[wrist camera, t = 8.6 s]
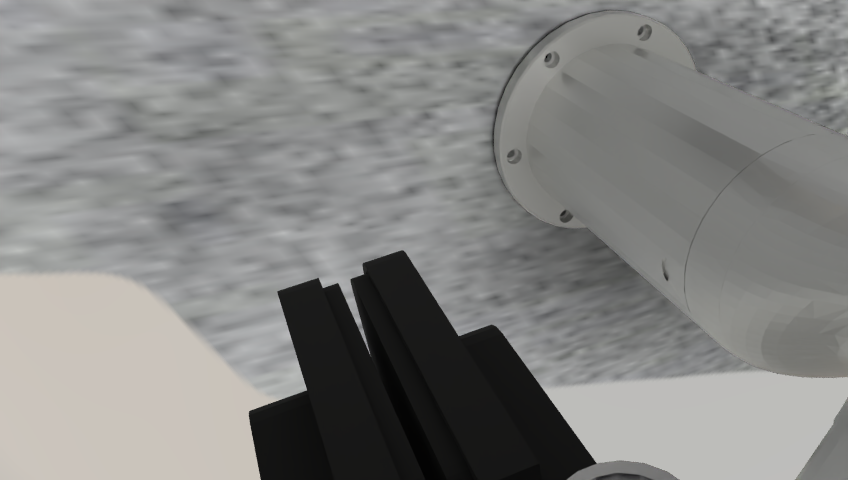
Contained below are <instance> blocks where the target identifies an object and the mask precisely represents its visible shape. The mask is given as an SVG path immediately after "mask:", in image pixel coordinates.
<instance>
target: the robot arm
mask: <svg viewBox="0 0 848 480" xmlns="http://www.w3.org/2000/svg"><path fill="white" fill-rule="evenodd" d="M547 54H548V57H547V58H546V59H545V57H546V55H547ZM510 151H511V152H510ZM494 152H495V158H496V163H497V168H498V171H499V173H500V176H501V178H502V180H503V183H504V185H505V187H506V188H507V189H508V191H509V192H510V194H511V195H512V196H513V198H514V199H515V200H516V201H517V202H518V203H519V204H520V205H521V206H522V207H523V208H524V209H525V210H526V211H527V212H529V213H530V214H532V215H533V216H535V217H536V218H538V219H539V220H541V221H543V222H546V223H549V224H551V225H554V226H557V227H564V228H571V229H579V228H588V229H589V230H590V231H592V232H593V233H594V234H595V235H596V236H597V237H598V238H600V239H601V240H602V241H603V242H604V243H605V244H606V245H607V246H609V247H610V248H611V249H612V250H613V251H614V252H615V253H616V254H618V255H619V256H620V257H621V258H622V259H623V260H624V261H626V262H627V263H628V264H629V265H630V266H631V267H632V268H633V269H635V270H636V271H637V272H638V273H639V274H640V275H641V276H642V277H644V278H645V279H646V280H647V281H648V282H649V283H650V284H652V285H653V286H654V287H655V288H656V289H657V290H658V291H659V292H661V293H662V294H663V295H664V296H665V297H666V298H667V299H668V300H670V301H671V302H672V303H673V304H674V305H675V306H676V307H678V308H679V309H680V310H681V311H682V312H683V313H684V314H685V315H687V316H688V317H689V318H690V319H691V320H692V321H693V322H694V323H696V324H697V325H698V326H699V327H700V328H701V329H702V330H703V331H704V332H706V333H707V334H708V335H709V336H710V337H711V338H712V339H714V340H715V341H716V342H717V343H718V344H719V345H720V346H722V347H723V348H724V349H725V350H727V351H728V352H730V353H731V354H732V355H734V356H735V357H737V358H739V359H741V360H743V361H744V362H746V363H748V364H750V365H753V366H755V367H758V368H761V369H764V370H767V371H770V372H773V373H777V374H784V375H790V376H798V377H816V378H817V377H819V378H821V377H822V378H835V377H848V136H845V135H843V134H841V133H838V132H836V131H834V130H831V129H829V128H827V127H824V126H822V125H820V124H818V123H815V122H813V121H811V120H808V119H806V118H804V117H802V116H799V115H797V114H795V113H792V112H790V111H788V110H785V109H783V108H781V107H778V106H776V105H774V104H771V103H769V102H767V101H765V100H762V99H760V98H758V97H755V96H753V95H751V94H748V93H746V92H744V91H741V90H739V89H737V88H735V87H732V86H730V85H728V84H725V83H723V82H721V81H718V80H716V79H714V78H711V77H709V76H707V75H704V74H702V73H700V72H698V71H697V70H696V66H695V63H694V61H693V59H692V57H691V55H690V52H689V50H688V48H687V47H686V46H685V44H684V43H683V42H682V41H681V39H680V38H679V37H678V36H677V34H675V33H674V32H673V31H672V30H670V29H669V28H668V27H666V26H665V25H664V24H662V23H660V22H658V21H656V20H653V19H651V18H649V17H646V16H643V15H640V14H636V13H633V12H629V11H611V10H608V11H603V12H597V13H591V14H587V15H585V16H582V17H580V18H577V19H574V20H572V21H569V22H567V23H566V24H564V25H563V26H561V27H559V28H558V29H556V30H555V31H553V32H551V33H550V34H549V35H547V36H546V37H545V38H544V39H543V40H542V41H541V42H540V43H538V44H537V45H536V46H535V47H534V48H533V49H532V50H531V51H530V52H529V54H528V55H527V56H526V57H525V58H524V60H523V61H522V62H521V63H520V65H519V66H518V67H517V69H516V71H515V72H514V74H513V76H512V78H511V79H510V81H509V83H508V85H507V86H506V89H505V91H504V94H503V97H502V99H501V102H500V105H499V107H498V112H497V117H496V122H495V128H494ZM509 152H510V154H508V153H509ZM363 271H364V275H361V276H358V277H355V278H352V279H351V285H352V289H353V293H354V296H355V300H356V304H357V307H358V311H359V315H360V318H361V322H362V325H363V329H364V333H365V336H366V340H367V344H368V347H369V351H370V354H371V356H370V354H369V351H368V349H367V347H366V345H365V342H364V340H363V338H362V336H361V333H360V331H359V329H358V327H357V324H356V322H355V320H354V318H353V315H352V313H351V311H350V309H349V306H348V304H347V302H346V300H345V297H344V295H343V293H342V291H341V288H340V286H339V284H338V283H337V284H334V285H331V286H328V287H325V288H322V285H321V283H320V280H319V278H317V279H313V280H310V281H307V282H304V283H301V284H298V285H295V286H292V287H289V288H286V289H283V290H280V291H277V292H278V296H279V299H280V302H281V306H282V309H283V312H284V315H285V319H286V322H287V325H288V329H289V332H290V335H291V338H292V342H293V345H294V348H295V352H296V355H297V358H298V361H299V365H300V368H301V371H302V375H303V378H304V381H305V384H306V388H307V391H304V392H301V393H299V394H296V395H293V396H290V397H287V398H285V399H282V400H279V401H276V402H273V403H271V404H268V405H265V406H262V407H259V408H257V409H254V410H251V411H249V419H250V425H251V431H252V436H253V441H254V446H255V452H256V457H257V462H258V467H259V472H260V477H261V480H679V479H677V478H676V477H674V476H673V475H672V474H670V473H669V472H667V471H664V470H662V469H659V468H656V467H653V466H651V465H648V464H645V463H638V462H629V461H614V462H605V463H598V464H597V463H596V462H595V461H594V459H593V458H592V456H591V455H590V454H589V452H588V451H587V450H586V449H585V447H584V445H583V444H582V443H581V441H580V440H579V439H578V437H577V436H576V434H575V433H574V432H573V430H572V429H571V428H570V426H569V425H568V423H567V422H566V421H565V419H564V418H563V416H562V415H561V414H560V412H559V411H558V410H557V408H556V407H555V405H554V404H553V403H552V401H551V400H550V399H549V397H548V396H547V394H546V393H545V392H544V390H543V389H542V387H541V386H540V385H539V383H538V382H537V381H536V379H535V378H534V376H533V375H532V374H531V372H530V371H529V370H528V368H527V367H526V365H525V364H524V363H523V361H522V360H521V359H520V357H519V356H518V354H517V353H516V352H515V350H514V349H513V347H512V346H511V345H510V343H509V342H508V341H507V339H506V338H505V336H504V335H503V334H502V333H501V331H500V330H499V329H498V328H497V327H496V326H494V325H489V326H486V327H484V328H481V329H478V330H475V331H472V332H470V333H467V334H464V335H461V336H458V335H457V333H456V331H455V330H454V328H453V327H452V325H451V323H450V322H449V320H448V319H447V317H446V316H445V314H444V312H443V311H442V309H441V308H440V306H439V305H438V303H437V301H436V300H435V298H434V297H433V295H432V294H431V292H430V290H429V289H428V287H427V286H426V284H425V283H424V281H423V279H422V278H421V276H420V275H419V273H418V272H417V270H416V268H415V267H414V265H413V264H412V262H411V260H410V259H409V257H408V256H407V254H406V253H405V252H404V251H403V250H401V251H398V252H395V253H392V254H389V255H386V256H383V257H380V258H377V259H374V260H371V261H368V262H365V263H363ZM796 480H848V398H847V400H846V402H845V403H844V405H843V407H842V408H841V410H840V411H839V413H838V414H837V416H836V417H835V420H834V423H833V425H832V427H831V428H830V430H829V431H828V433H827V434H826V436H825V437H824V439H823V440H822V441H821V443H820V445H819V446H818V447H817V449H816V450H815V452H814V453H813V455H812V456H811V458H810V459H809V460H808V462H807V464H806V465H805V467H804V468H803V469H802V471H801V472H800V474H799V475H798V477H797V478H796Z"/></svg>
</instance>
